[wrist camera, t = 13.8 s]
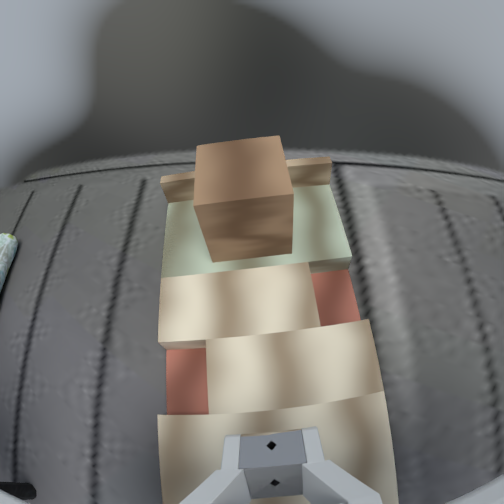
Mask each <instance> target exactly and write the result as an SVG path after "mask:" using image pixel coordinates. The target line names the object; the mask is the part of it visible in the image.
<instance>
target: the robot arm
mask: <svg viewBox="0 0 504 504" xmlns="http://www.w3.org/2000/svg"><path fill="white" fill-rule="evenodd" d="M295 495H303V496H304V497H305V498H306V499H307V500H308V501H309V502H310V503H311V504H383V503H382V500H381V497H380V494H379V493H377V492H376V491H374V490H373V489H371V488H370V487H368V486H367V485H365V484H364V483H362V482H361V481H359V480H358V479H356V478H355V477H353V476H352V475H350V474H349V473H347V472H346V471H345V470H343V469H342V468H340V467H339V466H338V465H336V464H335V463H333V462H332V461H331V460H325V458H324V454H323V449H322V445H321V440H320V436H319V432H318V428H317V427H316V426H314V427H307V428H301V429H294V430H286V431H277V432H269V433H253V434H234V435H226V436H225V438H224V446H223V454H222V462H221V470H215V471H214V472H213V473H212V474H211V475H210V476H209V477H208V478H207V479H206V480H205V481H204V482H203V483H202V484H200V485H199V486H198V487H197V488H196V489H195V490H194V491H193V492H192V493H190V494H189V495H188V496H187V497H186V498H185V499H184V500H183V501H181V502H180V503H179V504H249V503H250V502H251V499H261V498H272V497H283V496H295ZM0 504H30V503H28V502H26V501H23V500H21V499H19V498H17V497H15V496H13V495H10V494H8V493H6V492H4V491H2V490H1V489H0ZM445 504H504V474H502V475H501V476H499V477H497V478H495V479H494V480H492V481H490V482H488V483H486V484H485V485H483V486H481V487H479V488H477V489H475V490H473V491H471V492H469V493H467V494H465V495H463V496H460V497H458V498H456V499H454V500H452V501H449V502H447V503H445Z"/></svg>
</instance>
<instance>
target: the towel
mask: <svg viewBox="0 0 504 504" xmlns="http://www.w3.org/2000/svg"><path fill="white" fill-rule="evenodd" d="M17 246H18V241H17V239H16V237H15V236H12V235H11V234H5V233H2V234H0V292H1V289H2V286H3V284H4V281H5V278H6V275H7V273H8V270H9V268H10V265H11V263H12V261H13V258H14V256H15V253H16V251H17Z"/></svg>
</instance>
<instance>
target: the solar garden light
mask: <svg viewBox="0 0 504 504" xmlns="http://www.w3.org/2000/svg"><path fill="white" fill-rule="evenodd" d="M0 489H1V490H2V491H4V492H6V493H8V494H10V495H13V496H15V497H17V498H19V499H21V500H27V499H34V498H35V497H36V490H35V489H34V487H33V485H31V484H29V483H14V482H0Z"/></svg>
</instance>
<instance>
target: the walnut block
mask: <svg viewBox="0 0 504 504" xmlns="http://www.w3.org/2000/svg"><path fill="white" fill-rule="evenodd" d="M193 207H194V210H195V213H196V216H197V219H198V222H199V225H200V228H201V230H202V233H203V236H204V239H205V242H206V245H207V248H208V251H209V254H210V257H211V259H212V262H213V263H215V262H223V261H232V260H241V259H250V258H258V257H267V256H275V255H284V254H292V240H293V209H294V192H293V188H292V184H291V180H290V176H289V172H288V168H287V164H286V160H285V156H284V152H283V148H282V145H281V140H280V137H279V136H270V137H261V138H251V139H243V140H235V141H227V142H220V143H213V144H206V145H199V146H197V152H196V166H195V182H194V200H193Z"/></svg>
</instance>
